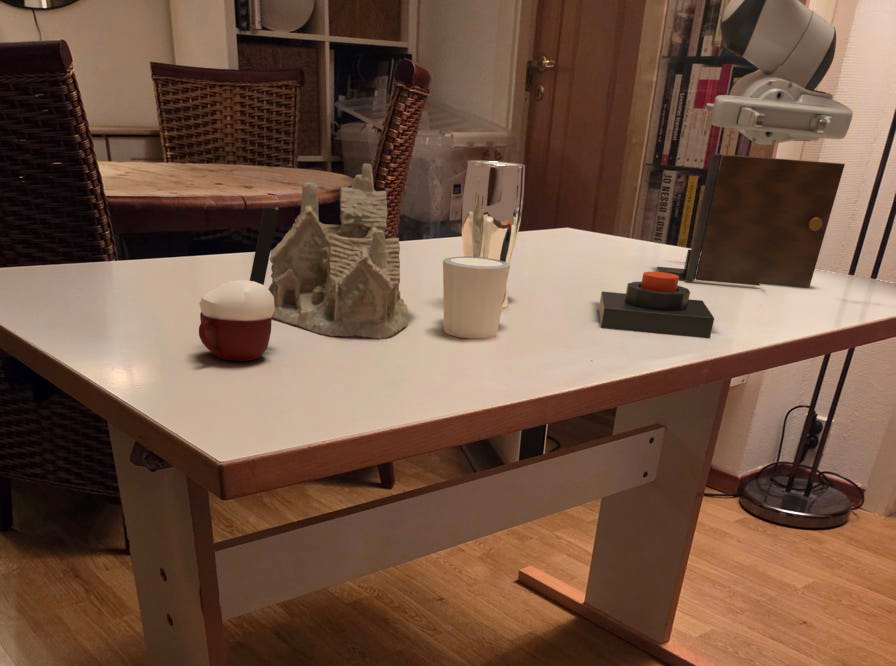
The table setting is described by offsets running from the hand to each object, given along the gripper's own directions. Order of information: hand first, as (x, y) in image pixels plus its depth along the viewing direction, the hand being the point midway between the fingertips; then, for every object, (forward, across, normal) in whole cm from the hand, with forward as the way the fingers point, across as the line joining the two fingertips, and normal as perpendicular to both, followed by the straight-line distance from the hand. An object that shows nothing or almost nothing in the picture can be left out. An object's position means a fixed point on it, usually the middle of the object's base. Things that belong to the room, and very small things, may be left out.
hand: (791, 123), depth 125 cm
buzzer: (+45, -22, +17) cm, 52 cm away
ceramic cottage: (+56, -57, +17) cm, 82 cm away
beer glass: (+42, -41, +18) cm, 61 cm away
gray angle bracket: (+11, -13, +20) cm, 26 cm away
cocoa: (+73, -62, +15) cm, 97 cm away
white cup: (+57, -42, +16) cm, 72 cm away
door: (+15, -4, +19) cm, 24 cm away
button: (+44, -22, +13) cm, 51 cm away
